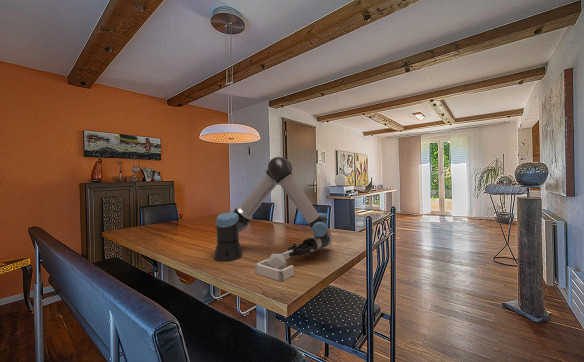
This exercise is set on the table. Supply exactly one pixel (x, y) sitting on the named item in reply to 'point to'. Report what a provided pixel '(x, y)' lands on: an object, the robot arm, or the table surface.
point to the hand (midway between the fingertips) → (283, 256)
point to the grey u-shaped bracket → (273, 271)
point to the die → (277, 261)
